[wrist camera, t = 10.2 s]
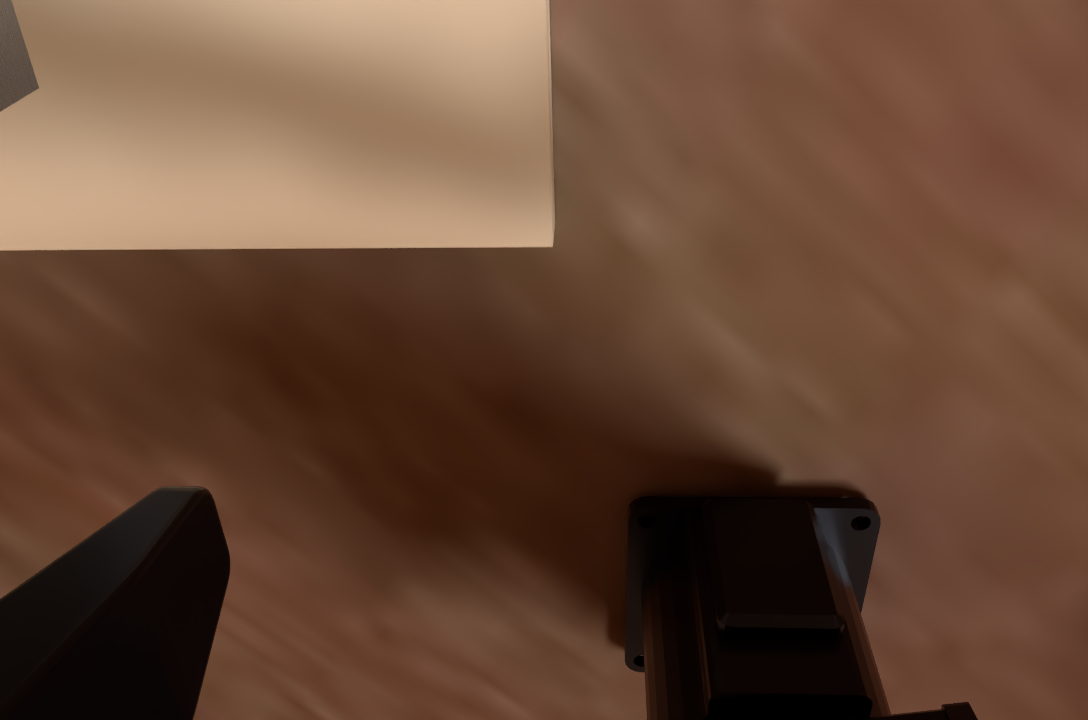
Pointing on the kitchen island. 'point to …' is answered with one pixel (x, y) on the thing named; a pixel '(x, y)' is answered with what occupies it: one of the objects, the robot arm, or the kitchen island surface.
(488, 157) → the beige square board
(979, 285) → the kitchen island surface
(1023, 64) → the kitchen island surface
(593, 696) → the kitchen island surface
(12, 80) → the coupling
